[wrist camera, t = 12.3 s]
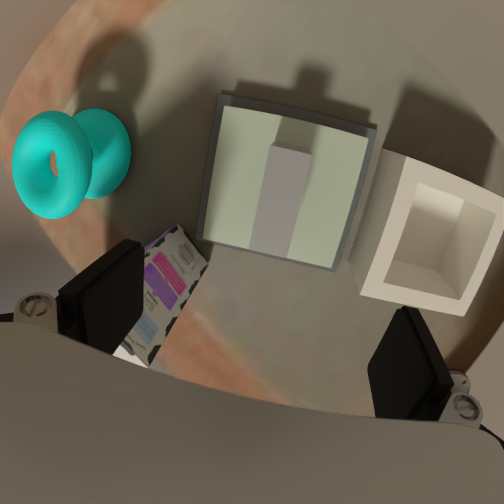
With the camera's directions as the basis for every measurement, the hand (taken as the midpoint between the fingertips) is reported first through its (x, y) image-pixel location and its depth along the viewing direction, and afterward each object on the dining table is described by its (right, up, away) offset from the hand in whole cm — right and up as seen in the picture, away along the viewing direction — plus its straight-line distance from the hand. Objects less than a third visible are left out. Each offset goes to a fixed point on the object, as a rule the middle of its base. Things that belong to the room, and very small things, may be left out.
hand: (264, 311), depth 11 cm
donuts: (-17, +13, +20) cm, 29 cm away
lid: (+2, +8, +18) cm, 20 cm away
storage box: (+17, +5, +18) cm, 25 cm away
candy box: (-12, 0, +25) cm, 28 cm away
